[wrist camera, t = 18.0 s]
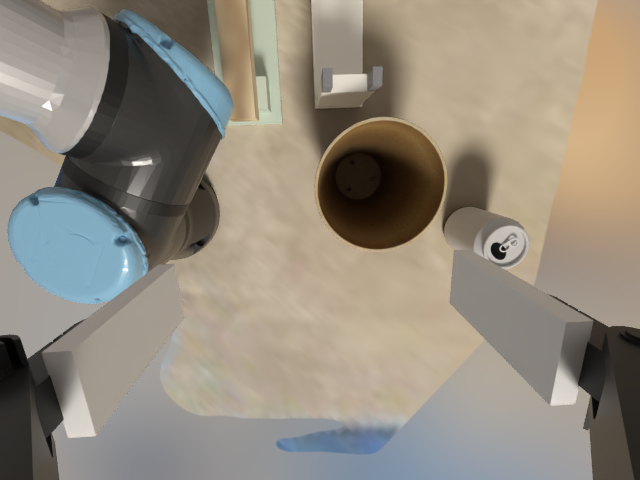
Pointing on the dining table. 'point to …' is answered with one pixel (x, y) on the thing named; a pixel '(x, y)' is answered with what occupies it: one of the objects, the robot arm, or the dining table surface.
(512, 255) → the can
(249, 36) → the rail
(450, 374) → the dining table surface
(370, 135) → the plant pot
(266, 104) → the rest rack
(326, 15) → the stand
